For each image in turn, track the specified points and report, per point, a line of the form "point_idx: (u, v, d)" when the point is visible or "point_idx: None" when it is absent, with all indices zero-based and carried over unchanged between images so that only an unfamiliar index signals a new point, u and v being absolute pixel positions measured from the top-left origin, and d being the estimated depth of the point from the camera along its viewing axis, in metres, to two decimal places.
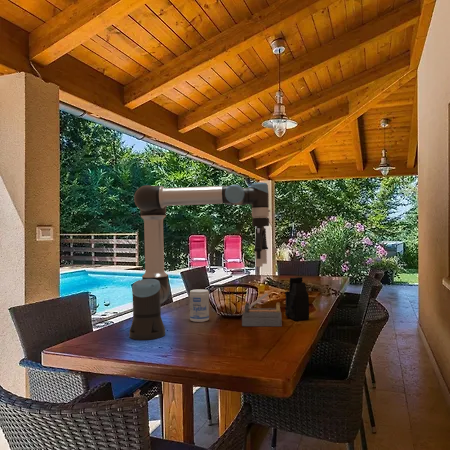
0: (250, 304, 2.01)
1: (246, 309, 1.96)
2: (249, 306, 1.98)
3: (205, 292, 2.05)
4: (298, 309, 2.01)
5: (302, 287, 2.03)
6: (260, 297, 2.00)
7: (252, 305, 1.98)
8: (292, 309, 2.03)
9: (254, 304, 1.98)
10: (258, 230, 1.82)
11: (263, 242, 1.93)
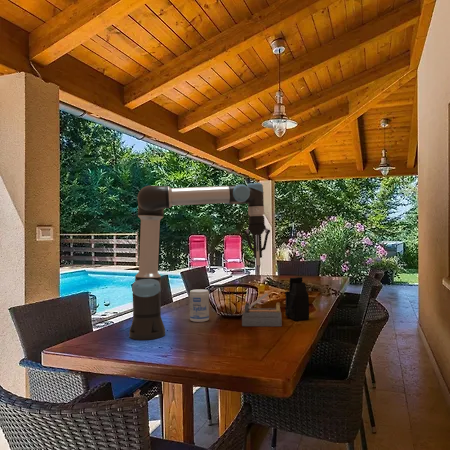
0: (250, 304, 2.01)
1: (246, 309, 1.96)
2: (249, 306, 1.98)
3: (205, 292, 2.05)
4: (298, 309, 2.01)
5: (302, 287, 2.03)
6: (260, 297, 2.00)
7: (252, 305, 1.98)
8: (292, 309, 2.03)
9: (254, 304, 1.98)
10: None
11: None
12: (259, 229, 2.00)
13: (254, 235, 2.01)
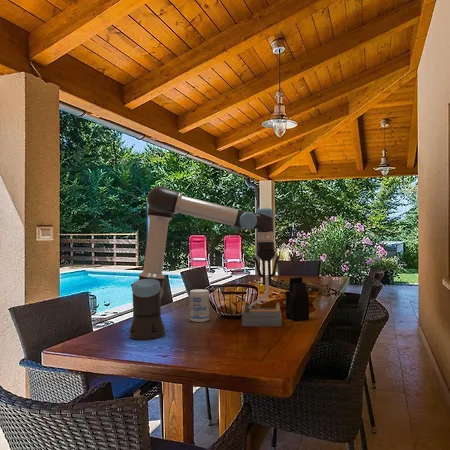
0: (250, 304, 2.01)
1: (246, 309, 1.96)
2: (249, 306, 1.98)
3: (205, 292, 2.05)
4: (298, 309, 2.01)
5: (302, 287, 2.03)
6: (260, 297, 2.00)
7: (252, 305, 1.98)
8: (292, 309, 2.03)
9: (254, 304, 1.98)
10: None
11: (268, 267, 1.98)
12: (268, 255, 1.96)
13: (263, 261, 1.97)
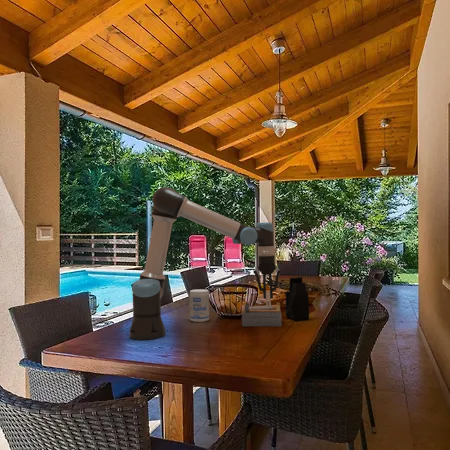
0: None
1: (246, 309, 1.96)
2: (250, 308, 1.98)
3: (205, 292, 2.05)
4: (298, 309, 2.01)
5: (302, 287, 2.03)
6: None
7: (253, 308, 1.98)
8: (292, 309, 2.03)
9: None
10: (254, 272, 1.99)
11: (269, 281, 1.98)
12: (269, 269, 1.96)
13: (264, 275, 1.97)
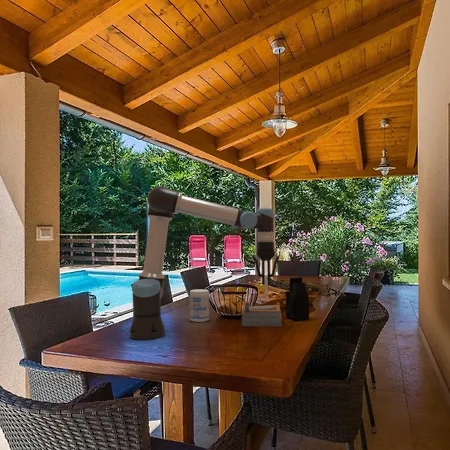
0: None
1: (246, 309, 1.96)
2: (250, 308, 1.98)
3: (205, 292, 2.05)
4: (298, 309, 2.01)
5: (302, 287, 2.03)
6: None
7: (253, 308, 1.98)
8: (292, 309, 2.03)
9: None
10: (253, 258, 1.99)
11: None
12: (268, 255, 1.96)
13: (263, 261, 1.97)
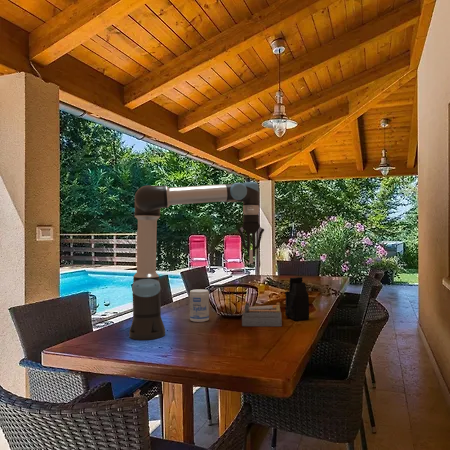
0: None
1: (246, 309, 1.96)
2: (250, 308, 1.98)
3: (205, 292, 2.05)
4: (298, 309, 2.01)
5: (302, 287, 2.03)
6: None
7: (253, 308, 1.98)
8: (292, 309, 2.03)
9: None
10: None
11: None
12: (253, 228, 2.02)
13: (248, 233, 2.03)
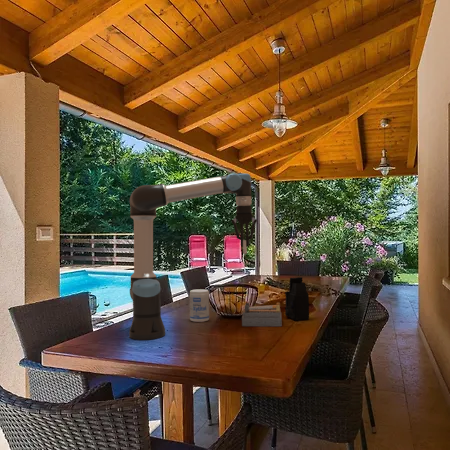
0: None
1: (246, 309, 1.96)
2: (250, 308, 1.98)
3: (205, 292, 2.05)
4: (298, 309, 2.01)
5: (302, 287, 2.03)
6: None
7: (253, 308, 1.98)
8: (292, 309, 2.03)
9: None
10: (232, 222, 2.08)
11: None
12: (246, 218, 2.06)
13: (241, 224, 2.06)
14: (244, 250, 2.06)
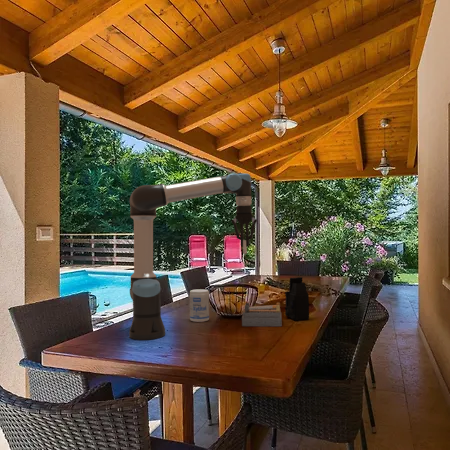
0: None
1: (246, 309, 1.96)
2: (250, 308, 1.98)
3: (205, 292, 2.05)
4: (298, 309, 2.02)
5: (302, 287, 2.03)
6: None
7: (253, 308, 1.98)
8: (292, 309, 2.03)
9: None
10: (232, 222, 2.08)
11: None
12: (246, 218, 2.06)
13: (241, 224, 2.06)
14: (244, 250, 2.06)
